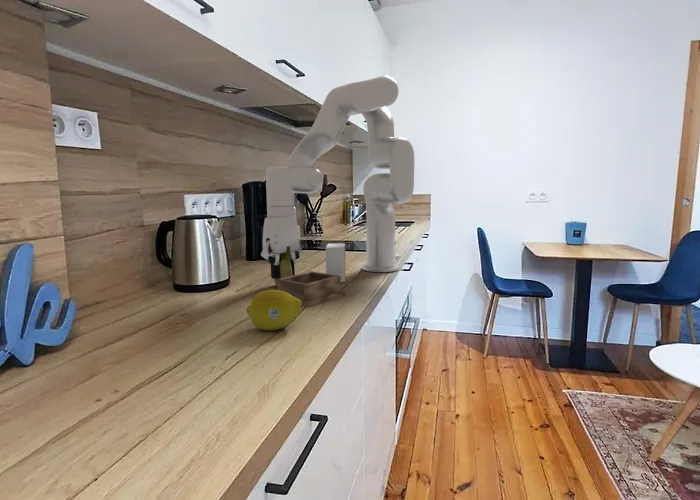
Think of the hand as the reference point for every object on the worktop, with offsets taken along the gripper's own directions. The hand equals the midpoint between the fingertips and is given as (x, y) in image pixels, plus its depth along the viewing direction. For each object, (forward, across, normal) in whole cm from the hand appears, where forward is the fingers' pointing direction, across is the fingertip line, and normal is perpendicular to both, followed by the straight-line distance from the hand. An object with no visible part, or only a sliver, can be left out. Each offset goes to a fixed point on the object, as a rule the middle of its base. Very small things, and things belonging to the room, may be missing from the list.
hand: (282, 276), depth 120 cm
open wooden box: (+3, +4, +14) cm, 15 cm away
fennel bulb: (+3, 0, 0) cm, 3 cm away
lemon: (+3, +26, +25) cm, 36 cm away
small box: (+3, -15, +7) cm, 17 cm away
